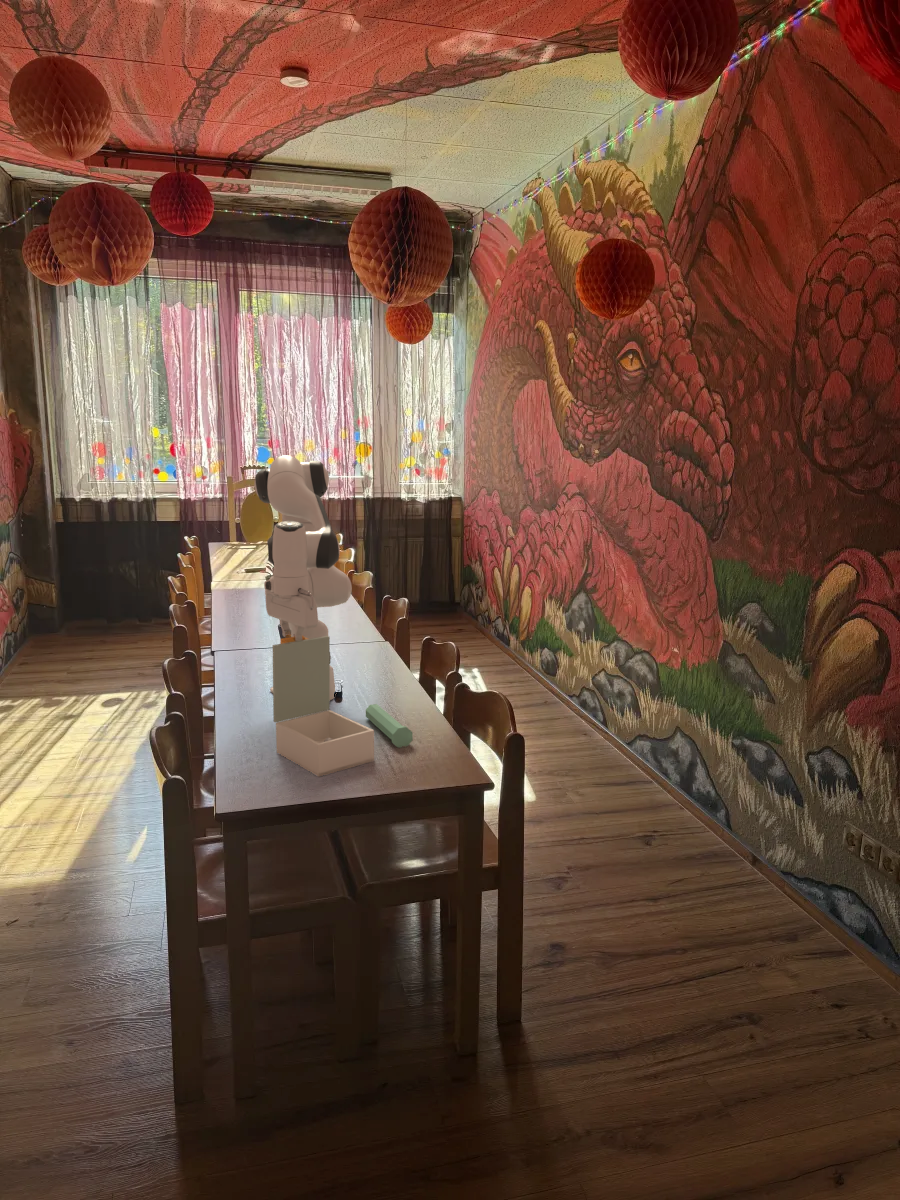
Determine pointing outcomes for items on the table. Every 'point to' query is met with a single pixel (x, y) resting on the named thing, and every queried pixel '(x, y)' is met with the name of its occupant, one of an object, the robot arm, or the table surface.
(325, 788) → the table surface
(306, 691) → the lid
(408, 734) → the green octagonal rod
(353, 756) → the parts tub
